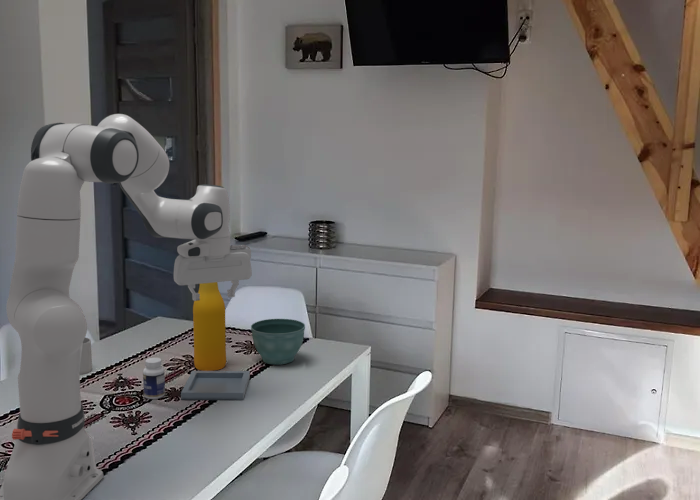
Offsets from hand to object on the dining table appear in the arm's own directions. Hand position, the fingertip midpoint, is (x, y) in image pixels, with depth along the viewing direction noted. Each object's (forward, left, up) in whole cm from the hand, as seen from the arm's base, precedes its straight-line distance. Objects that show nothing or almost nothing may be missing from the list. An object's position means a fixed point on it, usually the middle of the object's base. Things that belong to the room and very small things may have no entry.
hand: (213, 298), depth 187 cm
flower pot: (+23, -15, -25) cm, 38 cm away
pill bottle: (-5, +15, -25) cm, 30 cm away
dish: (0, 0, -25) cm, 25 cm away
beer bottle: (+18, +4, -25) cm, 31 cm away
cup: (+14, +42, -25) cm, 51 cm away
